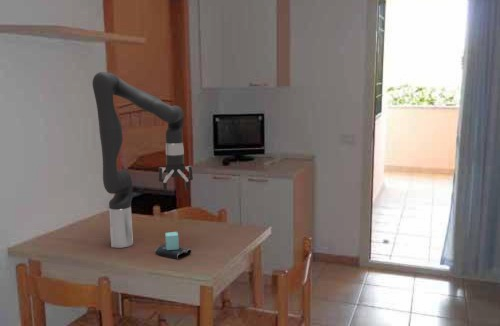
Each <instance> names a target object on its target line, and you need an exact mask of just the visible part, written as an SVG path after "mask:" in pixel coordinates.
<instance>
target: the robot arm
mask: <svg viewBox="0 0 500 326" xmlns="http://www.w3.org/2000/svg"><path fill="white" fill-rule="evenodd" d="M92 90H93V94H94V98H95V102H96V109H97V119H98V131H99V138H100V139H99V140H100V145H101V156H102V181H103V183H102V184H103V187H104V189H105V191H106V192H107V193H108V194H110V195H114V196H113V197H112V198H111V199H110V200H109V202H108V208H109V209H108V211H109V223H110V225H109V231H110V233H109V234H110V246H111V248H115V249H116V248H117V249H120V248H121V249H122V248H128V247H131V246H132V245H134V236H133V220H132V219H133V218H132V201H133V179H132V176H131V174H130V172H129V171H127V170H126V169H119V170H118V166H117V165H118V164H117V163H118V157H119V154H120V151H121V148H122V145H123V141H124V139H123V136H124V135H123V129H122V128H123V127H122V122H121V120H120V118H119V115H118V112H117V110H116V108H115V103H114V96H118V97H121V98H123V99H125V100H127V101H129V102H131V103H132V104H133V105H135V106H136V107H138V108H139V109H141V110H143V111H146V112H148V113H150V114H152V115H154V116H156V117H157V118H158V119H160V120H161V121H163V122H166V123H167V129H166V131H165V164H166V165H165V167H162V166H160V167H158V181H159V183H162V185H163V190H164V191H165V192H168V187H167V185H168V184H167V183H168V180H169V179H170V178H176V177H177V178H180V177H182V179H184V187H185V188H184V189H185V190H184V191H188V190H189V186H190V185H189V182H190V181H193V178H194V177H193V176H194V175H193V168H192V165H188V166H185V150H184V149H185V147H184V143H183V142H184V141H183V140H184V139H183V137H184V136H183V135H184V134H183V131H184V130H183V128H184V119H185V118H184V117H185V114H184V110H183V108H182V107H180V106H179V105H170V104H168V103H165V102H163V100H162V99H160V98H158V97H157V96H154V95H153V94H150V93H148V92H146V91H144V90H141V89H139V88H137V87H135V86H133V85H131V84H130V83H128V82H127V81H124V80H123V79H121V78H120V77H119V76H118V75H116V74H115V73H113V72H106V71H101V72H98V73H96V74H95V75H94V76H93V78H92ZM186 170H187V171H186ZM164 171H165V172H166V173H167V174H166V175H165V177H164V178H163V173H165V172H164ZM185 171H186V172H188V174H189V177H187V175H186V174H185Z"/></svg>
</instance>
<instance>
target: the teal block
mask: <svg viewBox="0 0 500 326" xmlns="http://www.w3.org/2000/svg"><path fill="white" fill-rule="evenodd" d="M164 235H165V236H164V237H165V245H166V249H167V250H176V249H179V248H180V246H179V245H180V244H179V243H180V242H179V241H180V240H179V233H178V231H171V232H165V234H164Z"/></svg>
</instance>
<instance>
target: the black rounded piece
mask: <svg viewBox="0 0 500 326" xmlns="http://www.w3.org/2000/svg"><path fill="white" fill-rule="evenodd" d="M155 253H156V254H155V255H158V256H160V257H165V258H168V259H169V258H170V259H174V260H175V259H176V260H179V258H178V256H179V255H181V254H185V255H191V254H192V249H191V248H187V249H186V248H184V247H179V249H176V250H167V249H166V244H163V245H160V246H157V248H155Z"/></svg>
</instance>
